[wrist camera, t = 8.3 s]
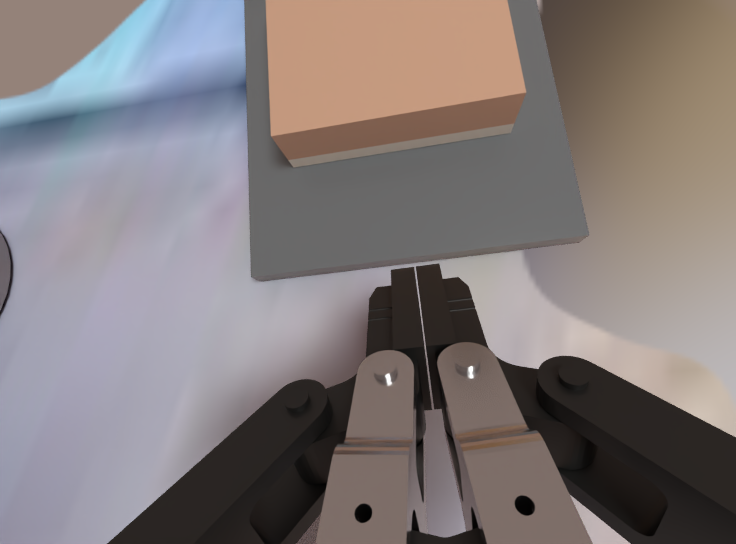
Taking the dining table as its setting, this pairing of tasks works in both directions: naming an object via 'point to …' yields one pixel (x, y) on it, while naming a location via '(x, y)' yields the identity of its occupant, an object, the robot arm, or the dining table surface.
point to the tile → (388, 75)
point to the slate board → (413, 182)
